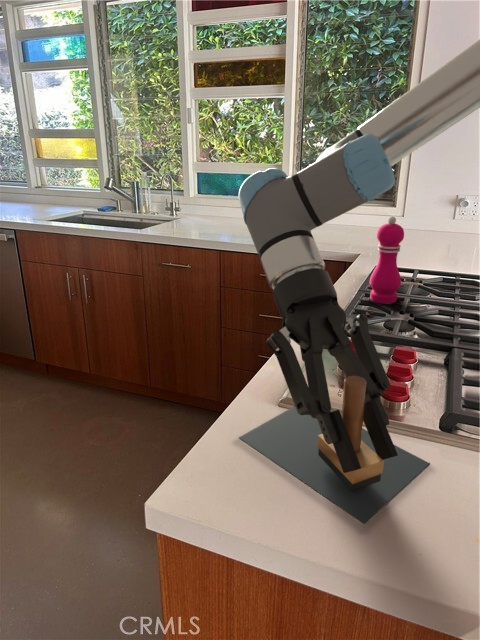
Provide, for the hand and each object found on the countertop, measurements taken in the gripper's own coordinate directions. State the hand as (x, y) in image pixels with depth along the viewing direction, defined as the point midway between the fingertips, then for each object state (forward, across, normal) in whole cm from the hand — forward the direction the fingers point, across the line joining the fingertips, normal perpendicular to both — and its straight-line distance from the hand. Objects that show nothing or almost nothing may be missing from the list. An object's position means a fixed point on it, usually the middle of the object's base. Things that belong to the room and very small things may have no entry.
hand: (370, 463), depth 51 cm
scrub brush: (0, 0, -5) cm, 5 cm away
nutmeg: (-28, -36, -36) cm, 58 cm away
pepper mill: (-33, -44, -40) cm, 68 cm away
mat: (-3, 0, -9) cm, 9 cm away
